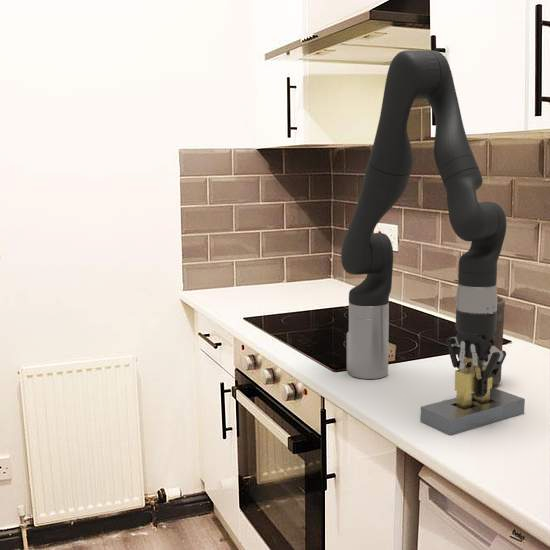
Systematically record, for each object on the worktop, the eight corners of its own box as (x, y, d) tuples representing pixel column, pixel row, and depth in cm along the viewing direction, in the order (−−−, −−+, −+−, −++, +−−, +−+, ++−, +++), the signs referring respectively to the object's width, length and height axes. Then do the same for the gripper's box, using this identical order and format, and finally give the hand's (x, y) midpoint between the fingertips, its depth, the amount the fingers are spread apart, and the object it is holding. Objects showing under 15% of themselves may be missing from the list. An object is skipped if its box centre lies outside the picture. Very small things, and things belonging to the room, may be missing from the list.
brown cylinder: (495, 377, 160) (498, 292, 157) (506, 388, 153) (510, 299, 150) (462, 378, 160) (464, 293, 157) (472, 389, 153) (474, 300, 149)
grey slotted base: (420, 421, 136) (420, 406, 135) (492, 401, 146) (493, 387, 145) (450, 435, 129) (450, 419, 128) (524, 413, 139) (524, 398, 138)
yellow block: (454, 412, 136) (455, 370, 135) (479, 405, 140) (481, 364, 138) (465, 417, 134) (466, 374, 132) (491, 409, 137) (492, 368, 136)
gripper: (435, 303, 137) (433, 387, 140) (490, 317, 125) (487, 408, 128) (463, 298, 141) (461, 380, 144) (519, 311, 129) (515, 400, 132)
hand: (473, 393), depth 136 cm, fingers closed on yellow block, 3 cm apart
